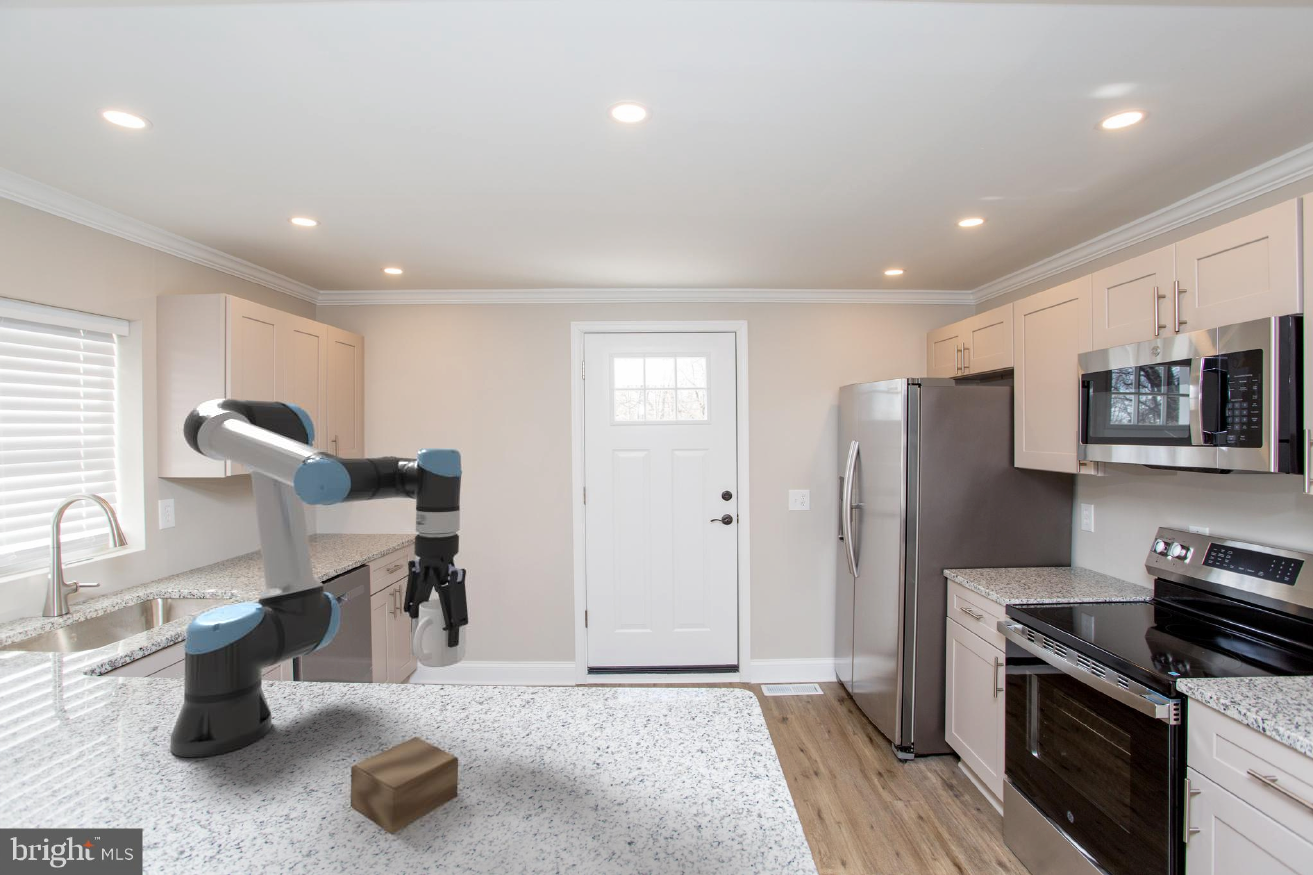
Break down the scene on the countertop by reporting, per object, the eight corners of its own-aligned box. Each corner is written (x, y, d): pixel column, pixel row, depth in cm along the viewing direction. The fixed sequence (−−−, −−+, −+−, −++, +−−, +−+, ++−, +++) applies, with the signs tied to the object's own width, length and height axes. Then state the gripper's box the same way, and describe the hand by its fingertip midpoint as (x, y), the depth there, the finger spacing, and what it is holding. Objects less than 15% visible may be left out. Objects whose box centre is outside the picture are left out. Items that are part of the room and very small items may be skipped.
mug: (434, 679, 99) (435, 618, 99) (392, 672, 101) (394, 613, 101) (474, 654, 111) (475, 600, 111) (436, 649, 113) (437, 595, 113)
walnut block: (350, 806, 89) (351, 764, 89) (415, 773, 98) (416, 735, 98) (392, 834, 83) (393, 789, 83) (457, 796, 92) (458, 755, 92)
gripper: (384, 529, 109) (381, 650, 109) (457, 543, 98) (453, 679, 97) (420, 525, 115) (417, 640, 115) (492, 537, 104) (488, 665, 104)
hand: (433, 657), depth 106 cm, fingers closed on mug, 8 cm apart
